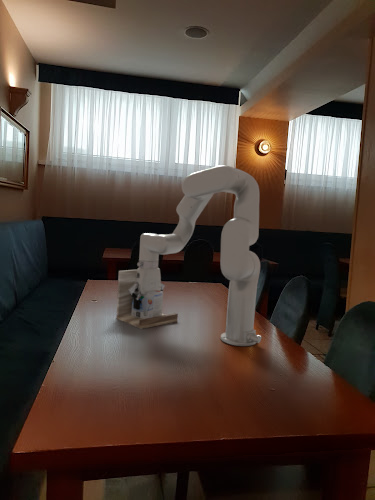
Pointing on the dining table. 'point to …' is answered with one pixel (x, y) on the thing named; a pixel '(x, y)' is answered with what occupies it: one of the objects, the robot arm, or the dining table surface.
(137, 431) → the dining table surface
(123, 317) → the board
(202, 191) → the robot arm
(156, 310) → the light bulb box
